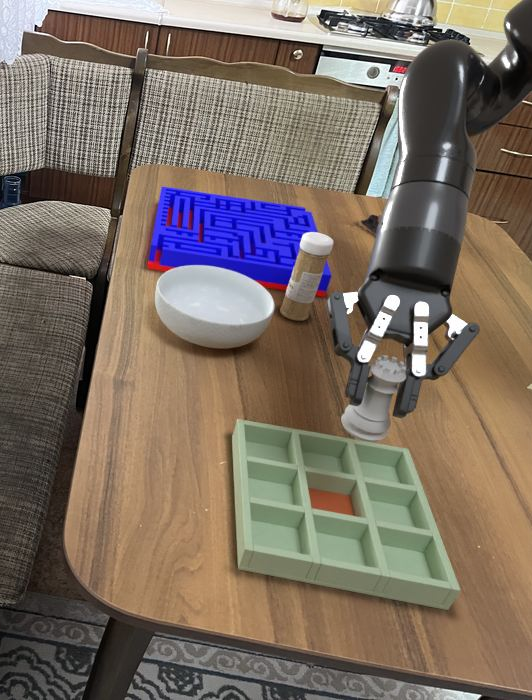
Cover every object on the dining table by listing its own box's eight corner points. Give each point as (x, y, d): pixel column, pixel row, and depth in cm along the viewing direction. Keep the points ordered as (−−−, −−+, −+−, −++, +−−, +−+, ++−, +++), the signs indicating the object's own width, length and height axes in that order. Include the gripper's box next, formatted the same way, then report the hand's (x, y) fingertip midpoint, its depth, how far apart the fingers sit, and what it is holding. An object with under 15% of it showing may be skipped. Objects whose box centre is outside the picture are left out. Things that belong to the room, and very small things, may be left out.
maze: (324, 296, 114) (331, 275, 112) (147, 268, 117) (150, 247, 115) (304, 226, 139) (310, 208, 137) (158, 204, 142) (161, 186, 140)
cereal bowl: (146, 355, 95) (154, 312, 91) (151, 297, 109) (158, 258, 105) (269, 373, 94) (282, 330, 90) (257, 313, 108) (269, 273, 104)
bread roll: (396, 221, 146) (402, 205, 144) (423, 238, 140) (430, 221, 138) (354, 222, 143) (360, 206, 141) (380, 239, 137) (386, 222, 135)
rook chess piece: (373, 450, 65) (404, 383, 60) (330, 425, 67) (357, 359, 63) (394, 431, 67) (425, 366, 63) (353, 408, 70) (380, 343, 65)
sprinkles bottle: (277, 305, 111) (300, 229, 103) (306, 309, 110) (331, 233, 103) (281, 319, 107) (305, 241, 99) (310, 324, 106) (337, 246, 99)
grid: (399, 467, 80) (408, 448, 79) (448, 610, 64) (461, 590, 63) (231, 437, 82) (237, 418, 81) (237, 569, 66) (245, 549, 64)
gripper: (351, 209, 64) (306, 383, 61) (514, 242, 61) (474, 428, 58) (335, 239, 71) (294, 396, 69) (480, 270, 68) (443, 436, 65)
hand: (377, 409), depth 63 cm, fingers closed on rook chess piece, 3 cm apart
